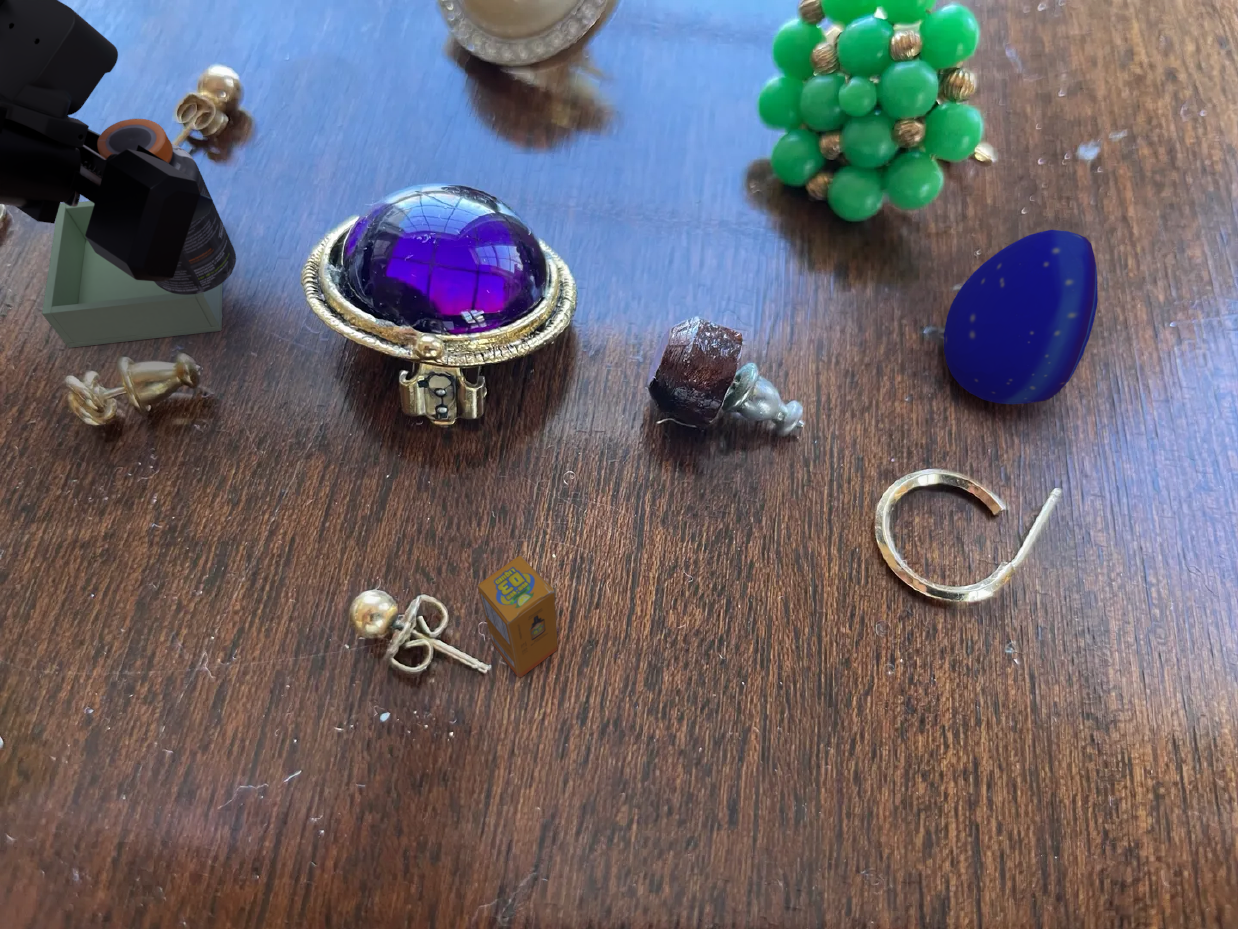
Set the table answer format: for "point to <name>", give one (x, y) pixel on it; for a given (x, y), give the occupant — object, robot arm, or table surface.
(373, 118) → the table surface
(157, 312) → the bin
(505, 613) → the supplement box
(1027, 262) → the ornament
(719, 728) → the table surface
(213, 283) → the pill bottle
